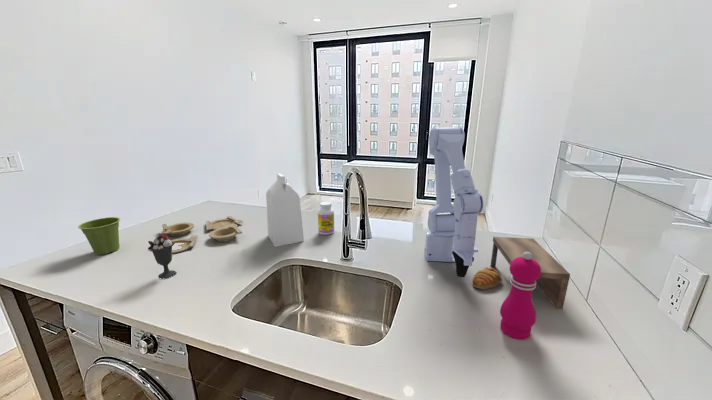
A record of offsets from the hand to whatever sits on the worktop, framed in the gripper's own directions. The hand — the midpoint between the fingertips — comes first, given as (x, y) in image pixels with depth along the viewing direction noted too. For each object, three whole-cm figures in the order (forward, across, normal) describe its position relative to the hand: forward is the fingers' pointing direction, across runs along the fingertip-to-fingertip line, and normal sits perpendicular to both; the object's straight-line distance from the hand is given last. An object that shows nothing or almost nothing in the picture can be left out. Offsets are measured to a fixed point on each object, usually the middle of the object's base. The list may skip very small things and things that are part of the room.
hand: (460, 276), depth 91 cm
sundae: (+2, -8, +91) cm, 91 cm away
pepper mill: (+2, -21, -8) cm, 23 cm away
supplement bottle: (+2, +32, +49) cm, 58 cm away
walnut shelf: (+1, 0, -17) cm, 17 cm away
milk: (+2, +24, +64) cm, 68 cm away
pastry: (+2, 0, -7) cm, 8 cm away
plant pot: (+2, +4, +126) cm, 126 cm away
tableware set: (+2, +22, +100) cm, 102 cm away
